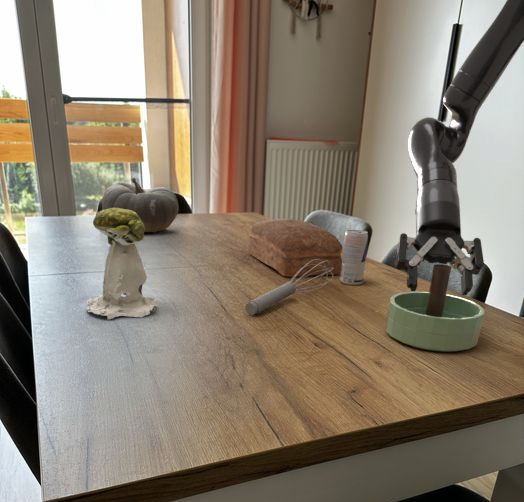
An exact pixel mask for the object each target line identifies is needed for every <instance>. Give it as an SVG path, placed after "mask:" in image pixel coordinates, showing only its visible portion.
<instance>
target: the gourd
mask: <svg viewBox="0 0 524 502" xmlns="http://www.w3.org/2000/svg"><path fill="white" fill-rule="evenodd" d="M132 183H133V184H132ZM179 207H180V206H179V201H178V198H177V196H176V193H174V192H173V191H172V190H171V189H169V188H167V187H164V186H160V187H159V186H157V187H153V188H151V189H148V190H146V189H144V188H143V186H141V185H140V184H139V182H137V180H136V177H132V178H131V183H129V182H125V181H117V182H115V183H114V184H112V185H111V186H109V187H107V189H106V190H105V191H104V193H103V195H102V198H101V210H106V209H110V208H121V209H128V210H131V211H133V212H135V213H136V214H137V215H138V216H139V218H140V219H141V221H142V222H143V224H144V227H145V232H154V233H158V232H157V231H159V232H162V231H163V230H166V229H168V228H169V227H170V226H171V225H172V224H173V222H174V221H175V219H176V218H177V216H178V214H179ZM161 230H162V231H161Z"/></svg>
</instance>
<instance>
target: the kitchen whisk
mask: <svg viewBox="0 0 524 502" xmlns="http://www.w3.org/2000/svg"><path fill="white" fill-rule="evenodd" d="M314 260H319V259H314ZM312 261H313V260H312ZM320 261H322V260H320ZM310 262H311V261H310ZM310 262H309V263H310ZM323 262H325V261H323ZM323 262H321V263H323ZM321 263H319V264H321ZM307 264H308V263H307ZM307 264H306V265H307ZM319 264H318V265H319ZM323 264H324V263H323ZM306 265H305V266H304V267H306ZM311 265H316V266H317V264H311ZM328 265H329V261H328ZM307 266H309V265H307ZM316 266H315V267H316ZM319 266H321V265H319ZM324 266H325V264H324ZM304 267H303V268H304ZM322 267H323V266H322ZM327 267H328V266H327ZM303 268H302V269H303ZM313 268H314V267H313ZM313 268H312V269H313ZM324 268H326V266H325V267H324ZM302 269H300V270H299V271H298V272H297V273H296V274H298V273H299V272H300V271H301V270H302ZM312 269H311V270H312ZM328 269H330V268H326V269H323V270H325V271H326V273H327V270H328ZM331 270H332V269H331ZM331 270H328V272H329V271H330V272H331ZM309 271H310V270H309ZM309 271H308V272H309ZM320 271H322V270H320ZM308 272H307V273H308ZM317 272H319V271H317ZM314 273H316V272H314ZM296 274H295V275H296ZM305 274H306V273H305ZM305 274H304V275H305ZM312 274H313V273H312ZM324 274H325V272H324ZM324 274H322V275H316V276H315V277H312V278H311V279H308V280H306V281H304V282H302V283H299V284H297V285H295V284H296V283H298V282H299V281H301V280H303V279H304V278H307V277H310V276H309V275H307V276H304V275H303V276H299V278H298V279H297V280H295V278H296V277H298V276H297V275H296V276H295V275H294V276H292V277H291V279H290V281H287V282H285V283H283V284H281V285H279V286H278V287H276V288H273V289H272V290H271V289H270V290H269V291H267V292H266V293H264V294H261V295H259V296H258V297H256V298H254V299H252V300H249V301H247V302H246V303H245V304H244V306H243V307H242V312H243V315H244V316H245V317H247V318H251V317H254V316H255V315H258V314H259V313H261V312H263V311H265V310H266V309H268V308H270V307H273V306H274V305H276V304H277V303H279V302H281V301H283V300H285V299H286V298H288V297H290V296H292V295H294V294H295V293H309V292H310V290H306V289H311V292H313V291H317V290H320V289H321V288H323V287H324V286H325V285H326V284H328V283H330V282H331V281H332V280H333V279H334V275H333V274H332V272H331V274H332V275H331V277H332V278H331V279H330V280H328V279H326V280H325V282H324V283H321V284H317V283H318V281H320V280H321V278H322V277H323V276H325V275H324ZM310 275H311V274H310ZM311 276H312V275H311ZM328 276H329V275H328V274H327V275H326V278H328ZM319 277H320V278H319ZM317 278H318V279H317ZM314 279H317V281H315V282H314V283H312V284H311V285H309V286H306V287H304V288H297V287H298V286H301V285H303V284H305V283H309V282H310V281H312V280H314ZM294 280H295V281H294ZM293 281H294V282H293ZM316 284H317V285H316ZM319 286H320V287H319ZM315 287H319V288H316V289H312V288H315ZM303 290H305V291H303ZM245 312H246V313H247V314H248V315H247V314H246V313H245Z"/></svg>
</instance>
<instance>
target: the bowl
mask: <svg viewBox="0 0 524 502" xmlns="http://www.w3.org/2000/svg"><path fill="white" fill-rule="evenodd" d="M428 295H429V291H415V292H414V291H405V292H399V293H395V294H393V295H392V296H391V297H390V298H389V301H388V302H389V303H388V309H387V314H386V315H387V316H386V322H385V330H386V333H387V334H388V335H389V336H390V337H391V338H393V339H395V340H397V341H398V342H401V343H403V344H405V345H407V346H410V347H413V348H417V349H420V350H426V351H432V352H443V353H445V352H446V353H447V352H448V353H450V352H459V351H464V350H470V349H473V348H474V347H476V346H477V345H478V343H479V340H480V339H479V338H480V335H481V331H482V326H483V321H484V317H485V313H486V310H485V309H484V308H483V307H482V306H481V305H479V304H478V303H476V302H474V301H472V300H469V299H466V298H463V297H460V296H455V295H451V294H446V298H445V304H444V309H443V314H442V316H443V317H435V316H429V315H424V314H425V312H426V307H427V301H428Z"/></svg>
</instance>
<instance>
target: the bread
mask: <svg viewBox="0 0 524 502" xmlns="http://www.w3.org/2000/svg"><path fill="white" fill-rule="evenodd" d="M246 243H247V244H246V245H247V246H246V250H247V253H248V254H249V255H250V256H252V257H254V258H255V259H257V260H259V261H260V262H262V263H264V264H266V265H267V266H269V267H271V268H273V269H274V270H275V271H277V272H278V273H279V274H280V275H281V276H283V277H290V278H293V276H294V275H295V274H296V273H297V272H298V271H299V270H300V269H302V268H303V267H304V266H305V265H306V264H307V263H308V264H307V265H309V266H307V265H306V267H304V268H303V269H302V270H301V271H300V272H299V273H298V274H296V275H297V276H296V275H295V276H296V277H302V276H303V275H304V274H305V273H306V274H305V275H304V276H303V277H305V276H307V275H309V276H307V277H310V276H319V275H321V276H322V274H324V272H325V274H324V275H323V276H327V274H328V276H334V275H339V274H340V275H341V267H342V255H341V254H342V252H343V245H342V243H341V242H340V240H339V239H338V237H337V236H336V235H334V234H333V233H332V232H330V231H328V229H327V230H326V229H325V228H323V227H321V226H318V225H316V224H313V223H311V222H309V221H305V220H301V219H294V218H276V219H275V218H274V219H264V220H262V221H259V222H257V223H255V224H253V225H251V227H250V229H249V233H248V239H247V242H246ZM314 259H319V260H314ZM312 260H313V261H312ZM320 260H322V261H320ZM310 261H311V262H310ZM323 261H325V262H323ZM328 261H329V265H328ZM309 262H310V263H309ZM321 262H323V263H324V264H325V266H326V268H330V269H328V270H331V269H332V270H331V272H332V274H333V275H332V274H331V272H330V271H329V272H328V270H327V273H326V271H325V270H323V269H326V268H324V267H325V266H324V264H323V263H321ZM319 263H321V264H319ZM311 264H317V266H316V265H311ZM318 264H319V265H321V266H319V265H318ZM315 266H316V267H315ZM322 266H323V267H322ZM327 266H328V267H327ZM313 267H314V268H313ZM312 268H313V269H312ZM311 269H312V270H311ZM309 270H310V271H309ZM320 270H322V271H320ZM308 271H309V272H308ZM317 271H319V272H317ZM307 272H308V273H307ZM314 272H316V273H314ZM312 273H313V274H312ZM310 274H311V275H310ZM295 276H294V277H295Z"/></svg>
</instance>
